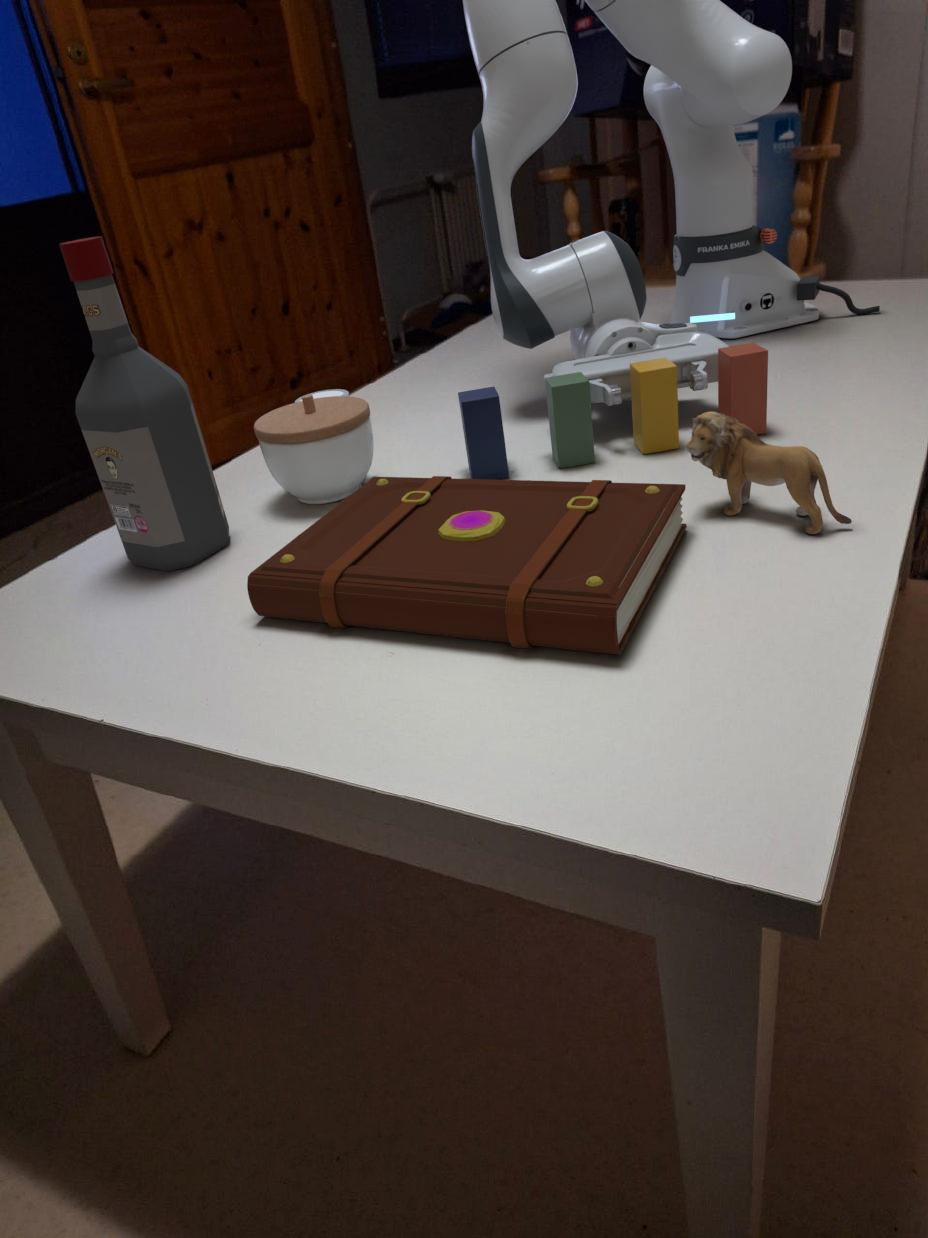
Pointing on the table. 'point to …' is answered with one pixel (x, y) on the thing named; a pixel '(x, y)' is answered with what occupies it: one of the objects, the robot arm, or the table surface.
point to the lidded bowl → (318, 446)
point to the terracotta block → (744, 384)
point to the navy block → (484, 433)
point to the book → (481, 560)
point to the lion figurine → (759, 465)
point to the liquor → (142, 431)
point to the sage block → (570, 419)
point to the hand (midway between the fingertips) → (658, 390)
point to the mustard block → (654, 405)
